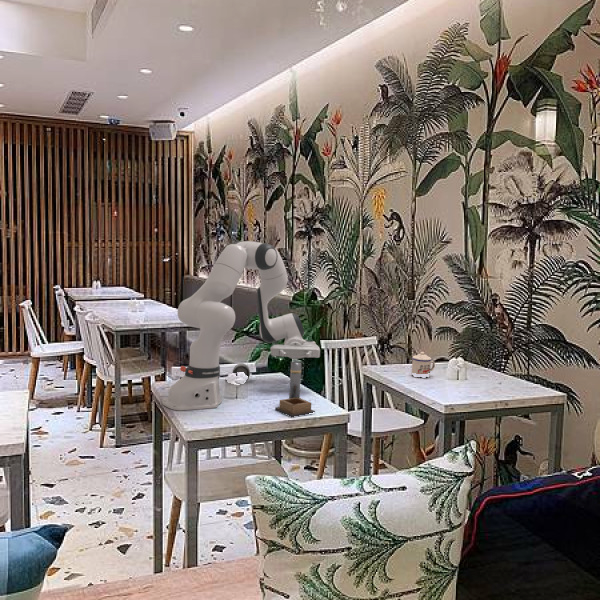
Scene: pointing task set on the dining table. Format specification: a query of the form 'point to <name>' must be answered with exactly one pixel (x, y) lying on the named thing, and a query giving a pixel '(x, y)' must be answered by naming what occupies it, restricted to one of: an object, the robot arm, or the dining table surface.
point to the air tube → (295, 380)
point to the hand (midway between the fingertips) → (295, 355)
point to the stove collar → (294, 407)
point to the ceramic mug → (242, 369)
